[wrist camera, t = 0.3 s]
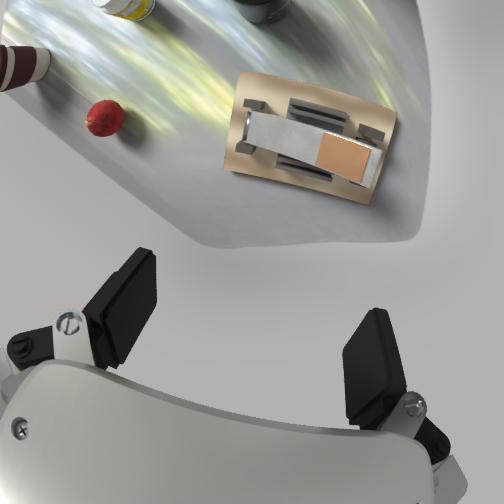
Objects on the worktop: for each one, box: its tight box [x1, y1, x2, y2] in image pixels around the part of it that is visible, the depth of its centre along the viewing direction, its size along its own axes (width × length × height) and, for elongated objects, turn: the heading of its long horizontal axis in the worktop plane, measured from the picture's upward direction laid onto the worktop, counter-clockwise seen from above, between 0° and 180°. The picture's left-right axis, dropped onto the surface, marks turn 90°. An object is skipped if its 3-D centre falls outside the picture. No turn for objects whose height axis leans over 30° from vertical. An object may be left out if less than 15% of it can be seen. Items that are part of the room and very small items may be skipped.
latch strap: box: [242, 110, 383, 188], centre depth 27 cm, size 4×16×1 cm, turn 80°
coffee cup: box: [0, 45, 50, 92], centre depth 23 cm, size 10×10×15 cm
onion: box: [85, 100, 124, 137], centre depth 32 cm, size 6×6×8 cm
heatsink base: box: [223, 71, 397, 205], centre depth 31 cm, size 14×21×6 cm, turn 80°
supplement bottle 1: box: [93, 0, 155, 21], centre depth 21 cm, size 5×5×10 cm
